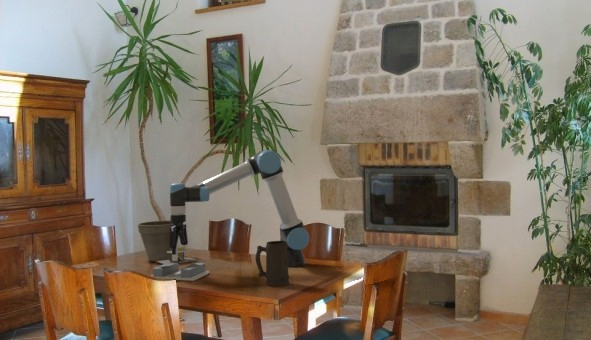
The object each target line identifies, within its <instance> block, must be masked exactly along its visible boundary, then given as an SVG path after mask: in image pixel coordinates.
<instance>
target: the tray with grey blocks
mask: <svg viewBox="0 0 591 340" xmlns="http://www.w3.org/2000/svg"><path fill="white" fill-rule="evenodd" d="M209 274H210V271H209V270H206V263H205V262H204V263H203V262H195V263H192V264H190V265H188V266H185V267H183V268H180V270H179V263H175V264H167V265H166V264H163V263H162V264H161V265H159V266H156V267H152V275H151V276H153V277H157V278H165V279H176V280H175V281H190V282H191V281H193V282H195V281H196V280H198V279H200V278H203V277H205V276H207V275H209Z"/></svg>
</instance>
